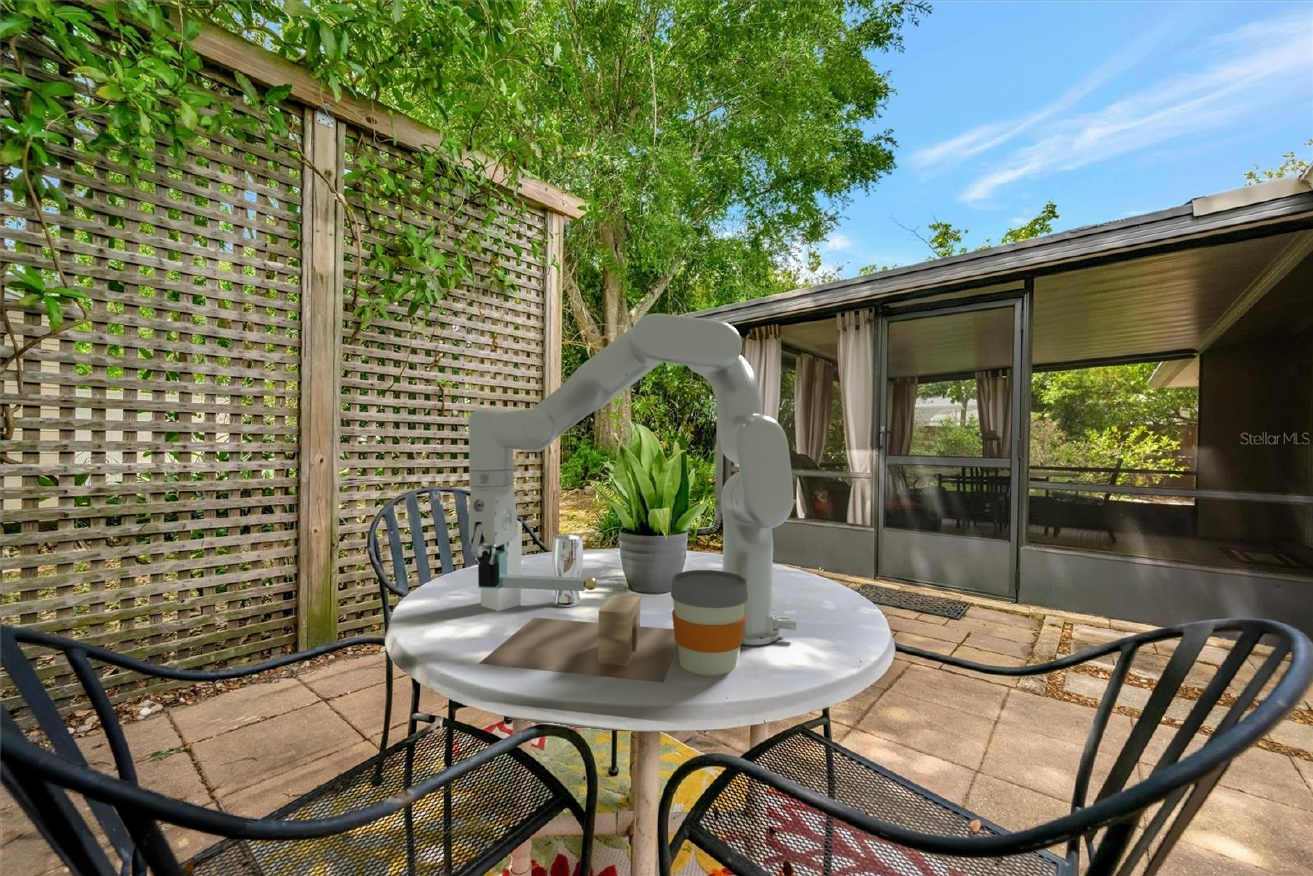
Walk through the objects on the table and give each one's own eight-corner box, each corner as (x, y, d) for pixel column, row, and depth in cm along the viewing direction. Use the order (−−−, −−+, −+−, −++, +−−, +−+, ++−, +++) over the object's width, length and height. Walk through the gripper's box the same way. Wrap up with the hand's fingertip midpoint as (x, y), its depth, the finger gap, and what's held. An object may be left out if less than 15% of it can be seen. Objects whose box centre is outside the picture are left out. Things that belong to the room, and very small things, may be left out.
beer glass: (579, 608, 120) (580, 540, 120) (547, 607, 120) (549, 539, 120) (584, 599, 127) (585, 534, 127) (554, 598, 127) (555, 533, 127)
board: (682, 636, 105) (682, 629, 105) (663, 690, 83) (663, 682, 83) (533, 623, 110) (533, 617, 110) (478, 671, 88) (478, 663, 88)
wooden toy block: (639, 644, 98) (640, 596, 98) (627, 665, 89) (628, 613, 88) (612, 642, 98) (613, 594, 98) (597, 663, 89) (598, 610, 89)
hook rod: (599, 587, 96) (599, 553, 96) (594, 592, 93) (594, 557, 93) (486, 583, 100) (486, 549, 99) (478, 587, 97) (477, 553, 97)
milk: (497, 617, 114) (499, 511, 114) (480, 610, 118) (481, 507, 117) (521, 609, 119) (522, 507, 118) (503, 604, 122) (505, 505, 122)
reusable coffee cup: (683, 692, 83) (685, 592, 82) (659, 658, 95) (661, 571, 95) (759, 683, 86) (761, 587, 86) (727, 651, 98) (729, 568, 98)
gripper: (489, 484, 89) (491, 598, 89) (530, 476, 105) (531, 572, 105) (446, 484, 90) (448, 596, 90) (493, 475, 106) (494, 570, 106)
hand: (493, 582), depth 98 cm, fingers closed on hook rod, 3 cm apart
